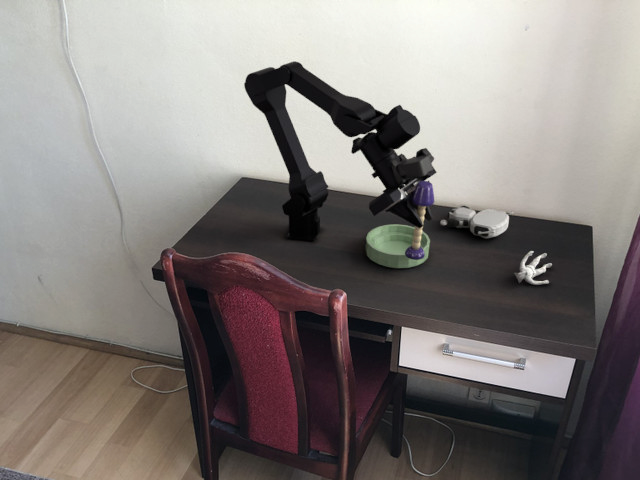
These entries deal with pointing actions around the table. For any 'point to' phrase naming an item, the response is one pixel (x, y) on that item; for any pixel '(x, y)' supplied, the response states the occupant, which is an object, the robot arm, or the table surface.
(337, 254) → the table surface
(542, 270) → the white figurine
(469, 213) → the robot toy
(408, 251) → the toy lamp
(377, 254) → the bowl
